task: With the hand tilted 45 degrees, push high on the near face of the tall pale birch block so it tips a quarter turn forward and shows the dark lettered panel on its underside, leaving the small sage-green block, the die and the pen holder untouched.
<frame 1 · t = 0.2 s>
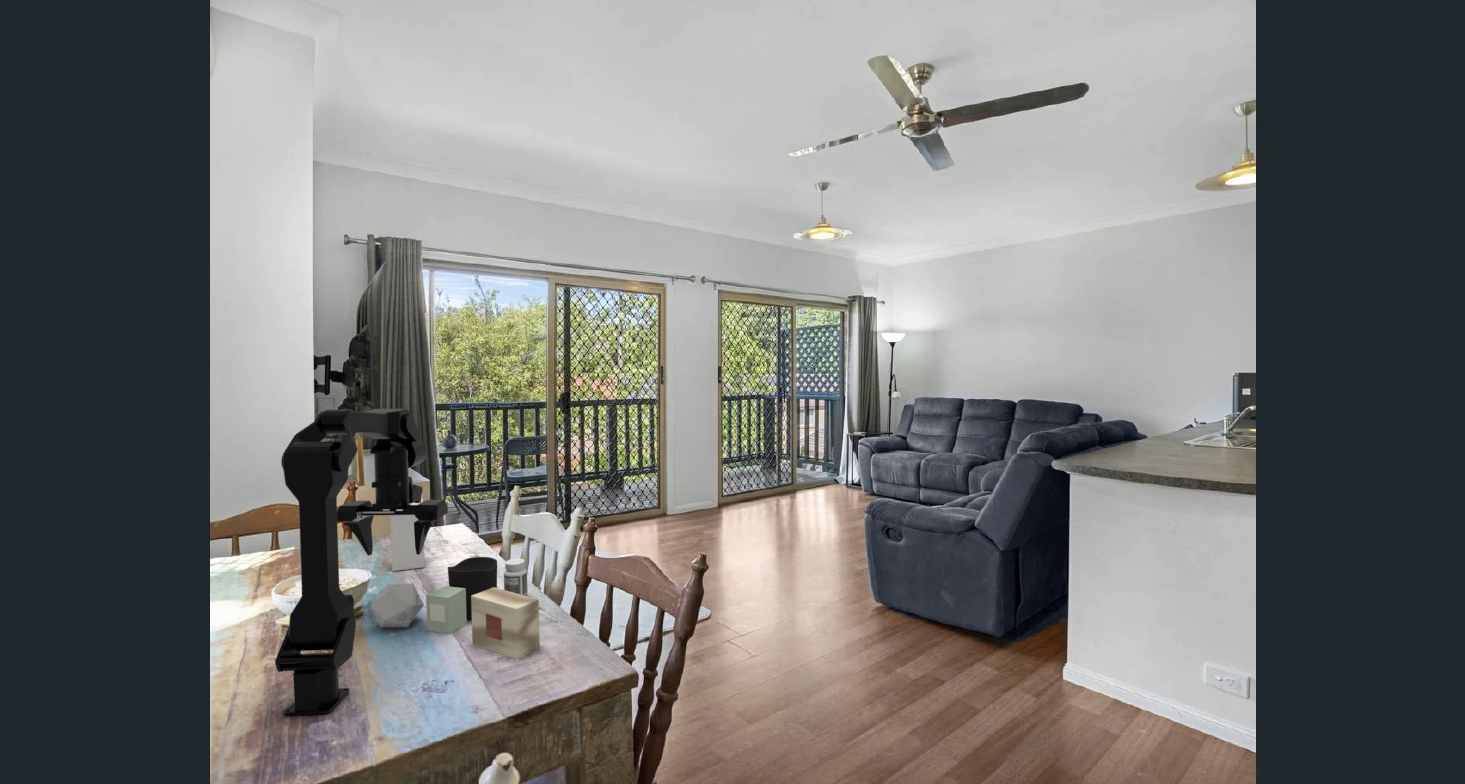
hand: (394, 554, 126), 14 cm above the table, tool pointing down, fingers open, 9 cm apart
pill bottle: (516, 600, 141), on the table
sage block: (447, 626, 127), on the table
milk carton: (408, 566, 163), on the table
birch block: (505, 646, 119), on the table
die: (398, 625, 129), on the table
pen holder: (474, 612, 135), on the table
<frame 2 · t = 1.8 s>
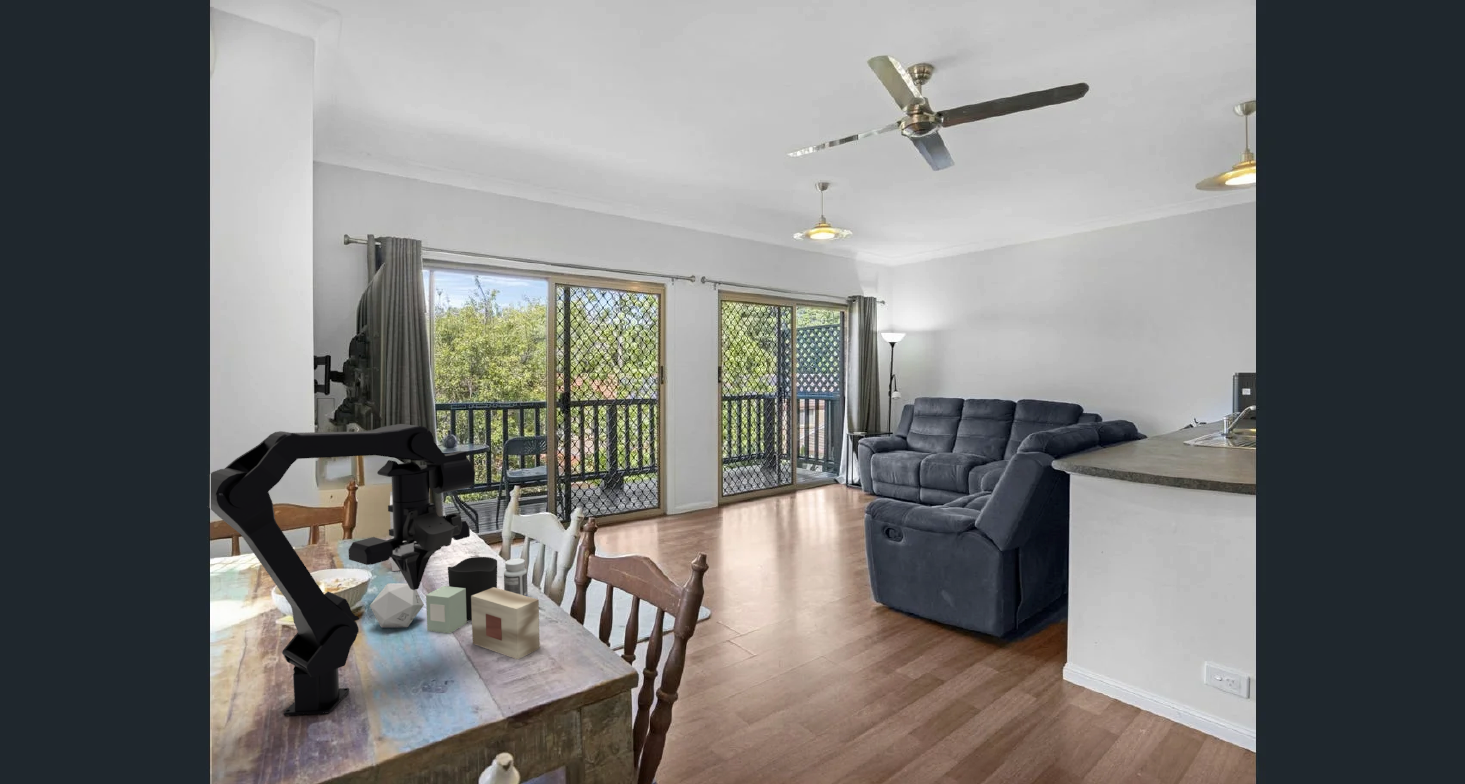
hand: (414, 589, 112), 13 cm above the table, tool pointing down, fingers closed
nothing on the table moved.
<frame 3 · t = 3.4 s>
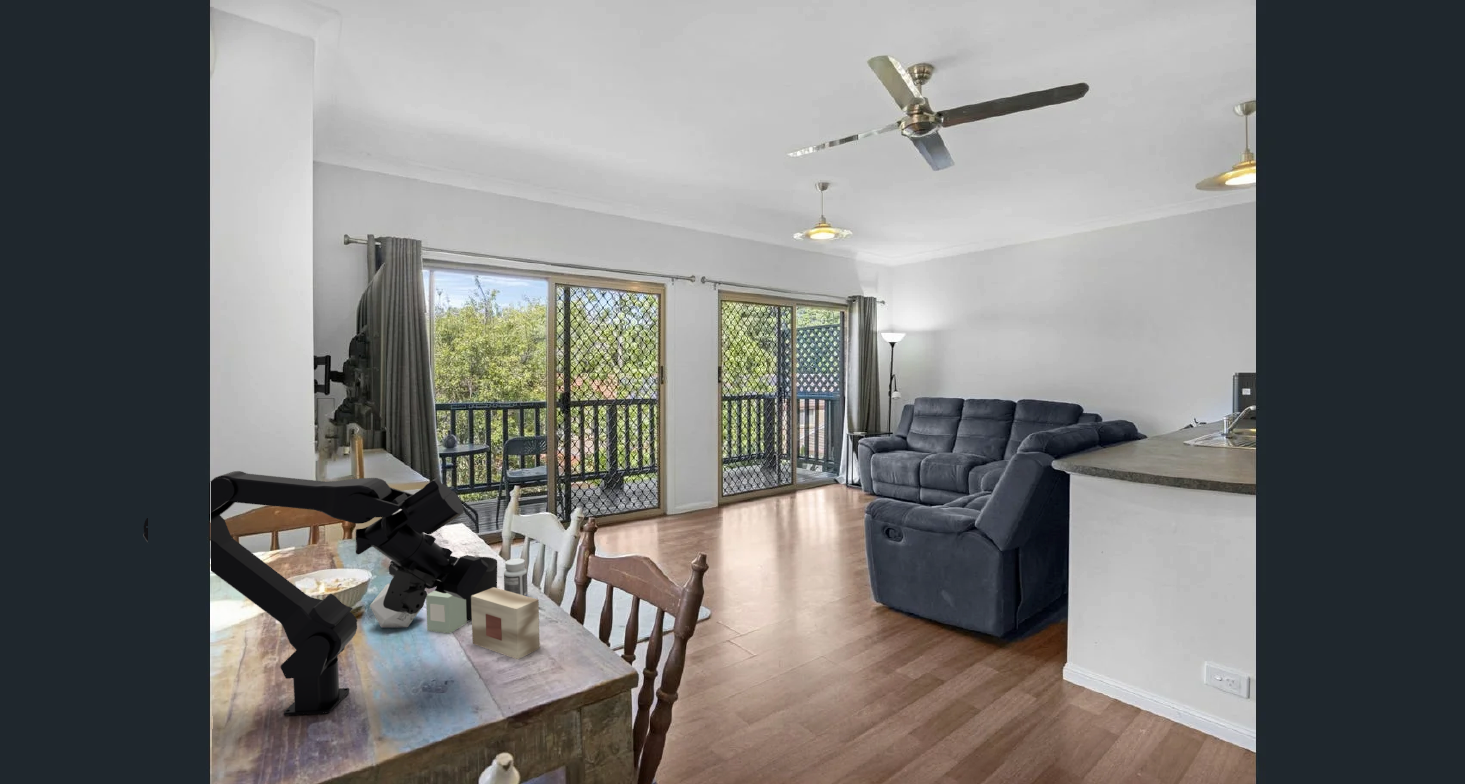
hand: (469, 592, 112), 12 cm above the table, tool tilted 45°, fingers closed
nothing on the table moved.
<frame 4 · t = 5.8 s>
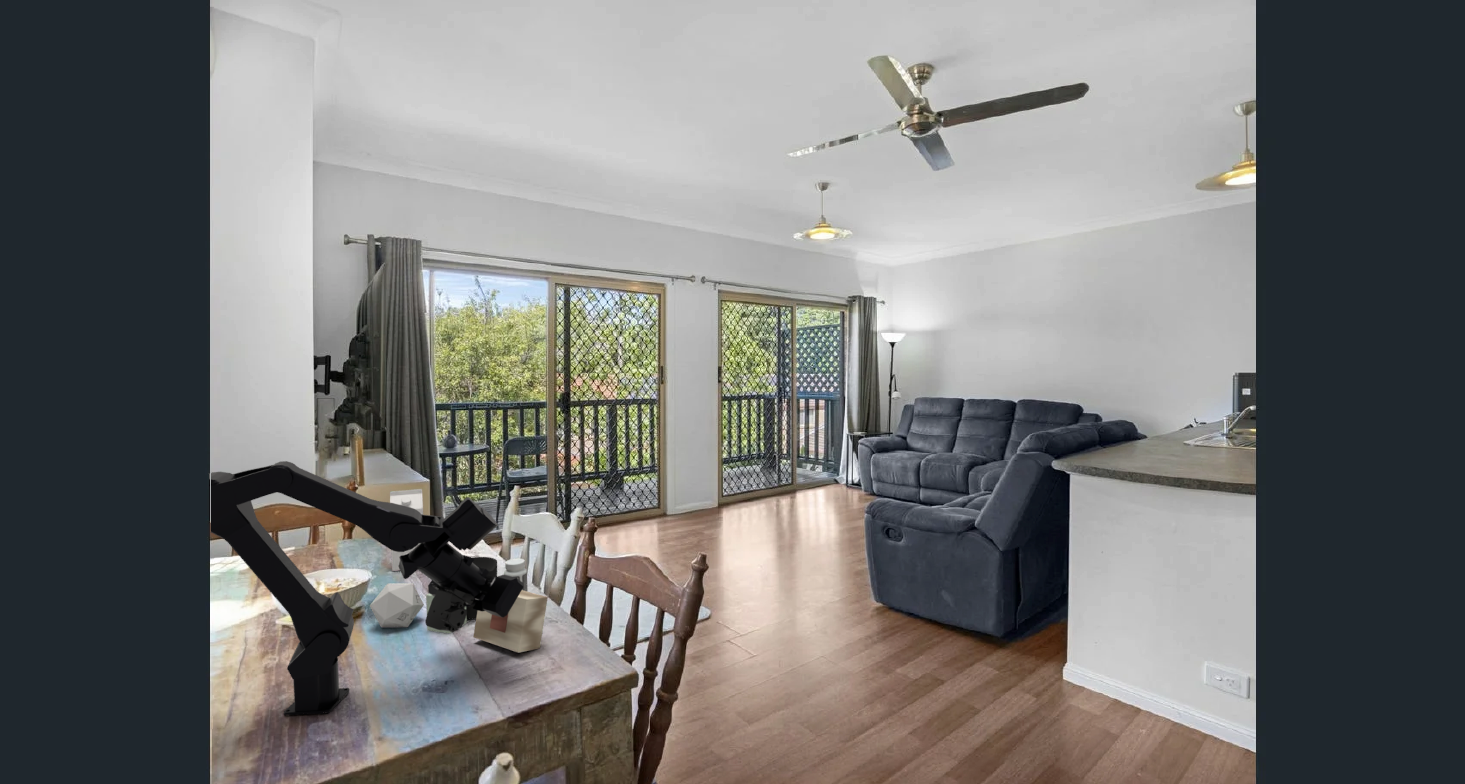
hand: (503, 609, 117), 7 cm above the table, tool tilted 45°, fingers closed, pressing on birch block
birch block: (506, 642, 119), point 1 cm above the table, tilted 13°, touching gripper
everything else where it was.
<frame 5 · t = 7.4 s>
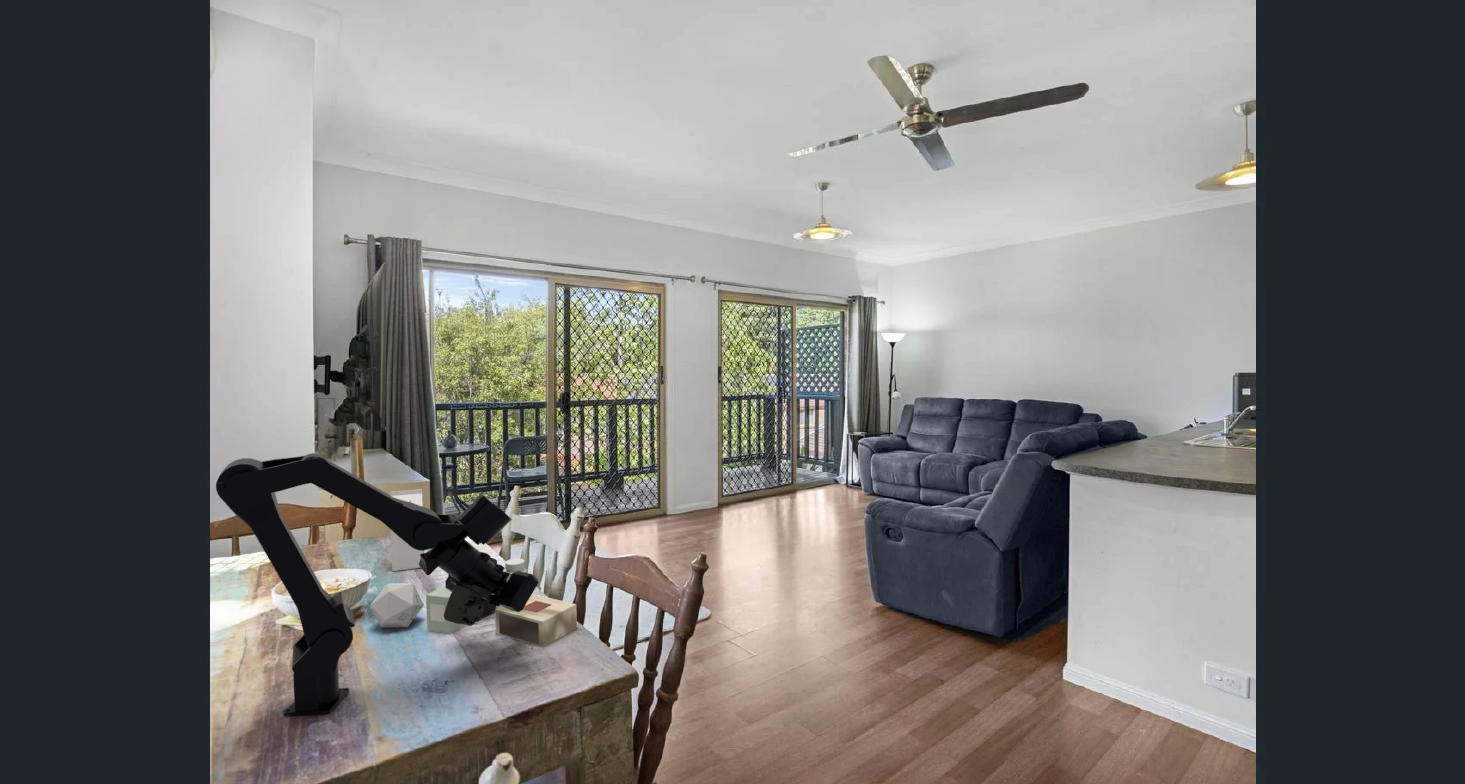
hand: (517, 604, 121), 7 cm above the table, tool tilted 45°, fingers closed
birch block: (518, 628, 121), point 2 cm above the table, tilted 90°
everything else where it was.
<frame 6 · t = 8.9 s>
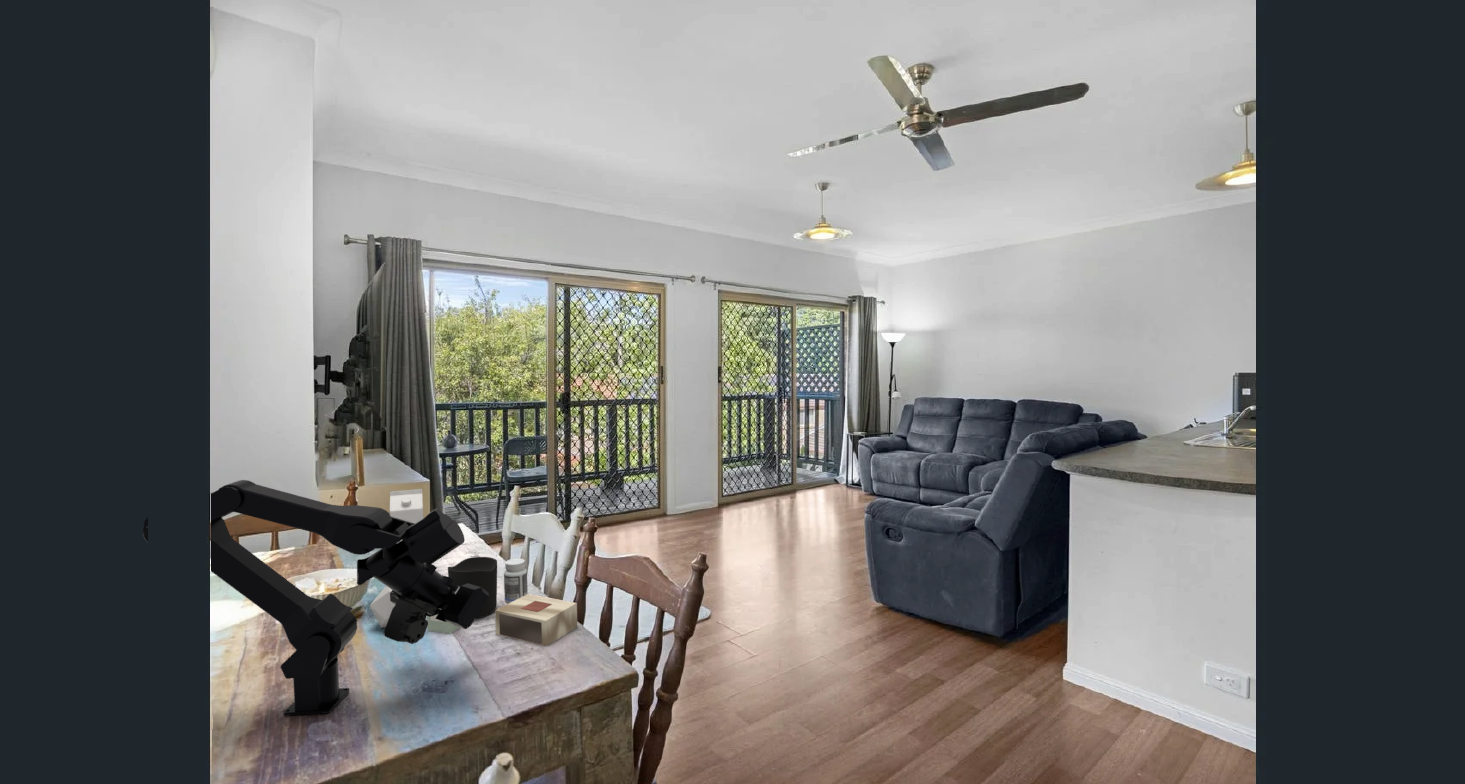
hand: (469, 619, 112), 8 cm above the table, tool tilted 45°, fingers closed
nothing on the table moved.
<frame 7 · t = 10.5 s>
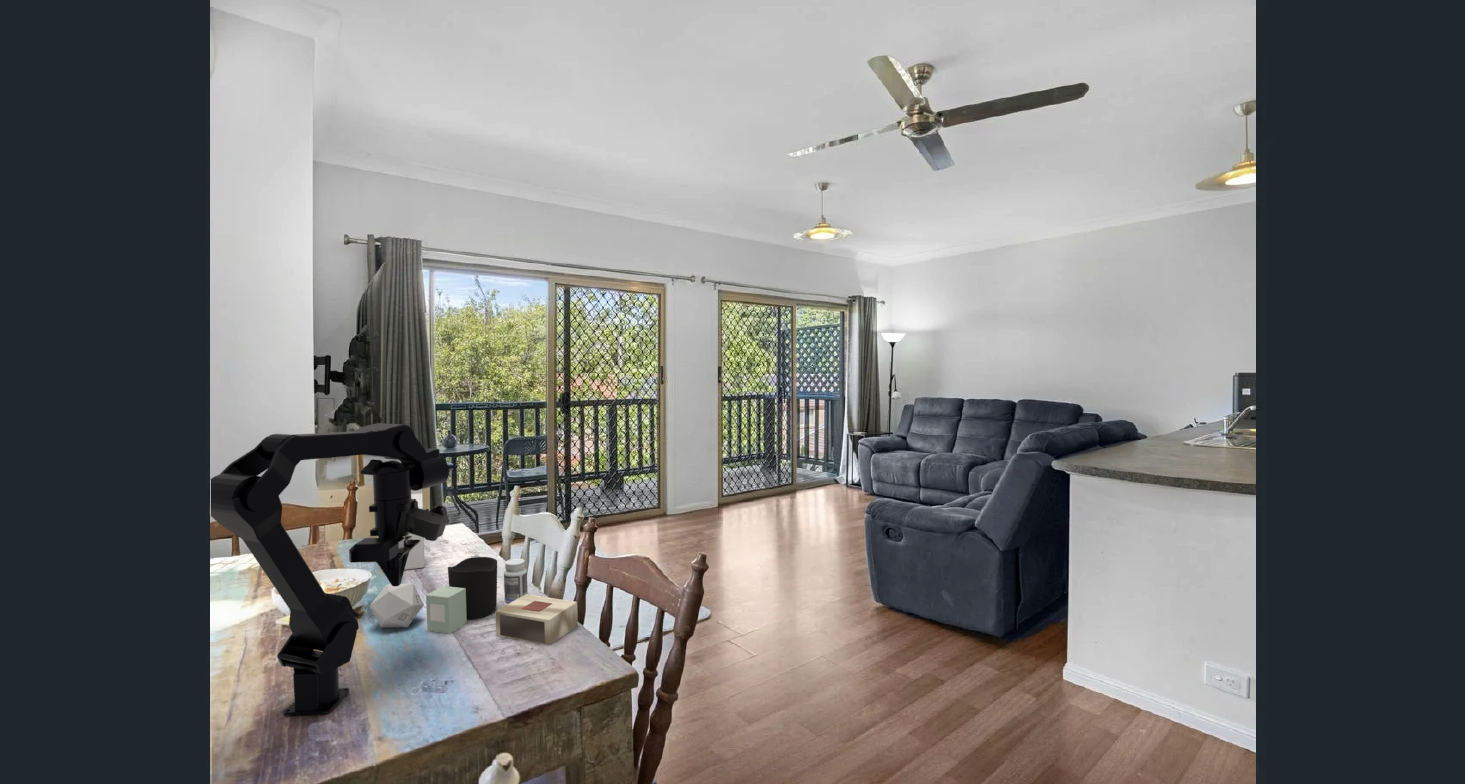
hand: (396, 585, 113), 13 cm above the table, tool pointing down, fingers closed
nothing on the table moved.
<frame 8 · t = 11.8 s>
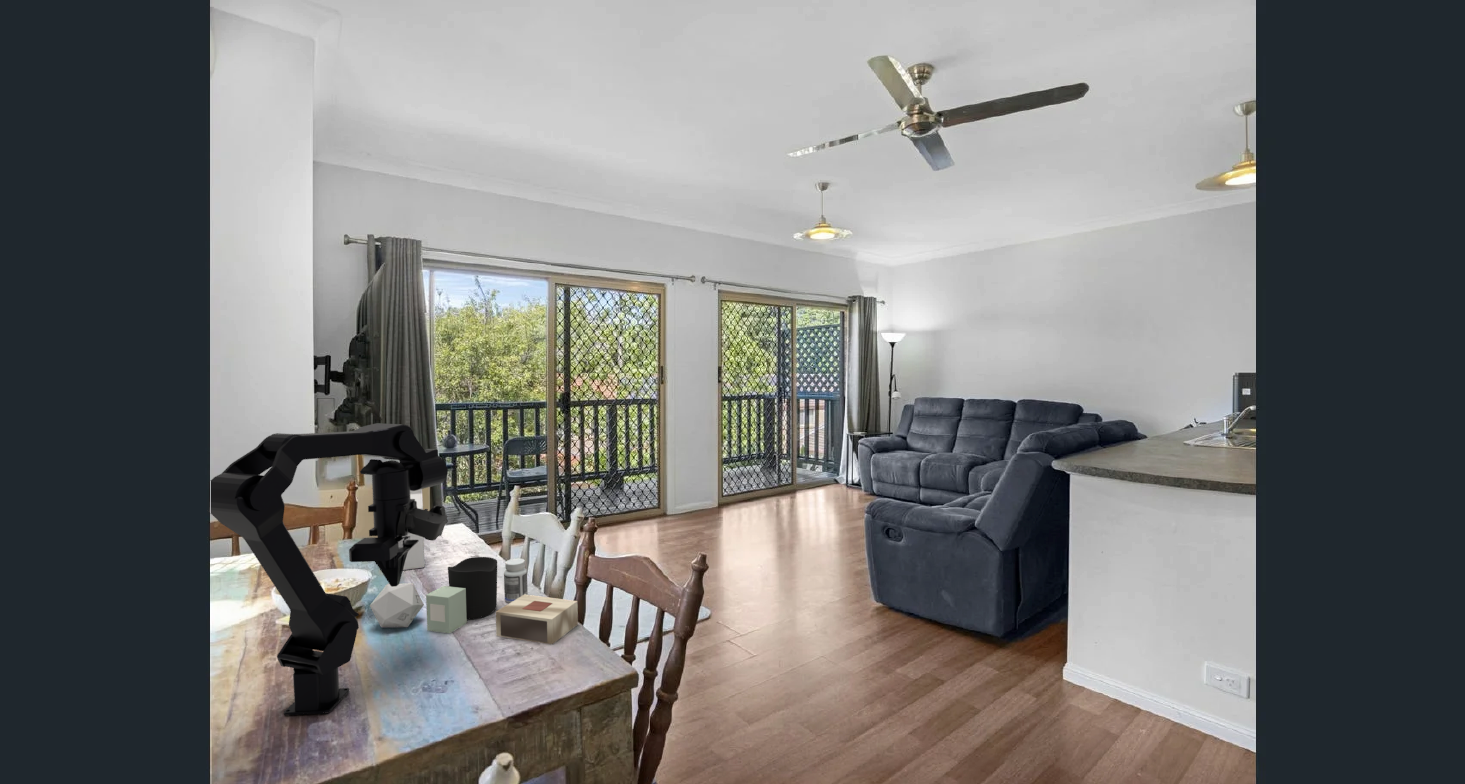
hand: (395, 585, 113), 13 cm above the table, tool pointing down, fingers closed
nothing on the table moved.
at the end: birch block tilted 90°; birch block moved 4.1 cm from its start; birch block inside the target area (3.9 cm from its centre), point 2.2 cm above the table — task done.
